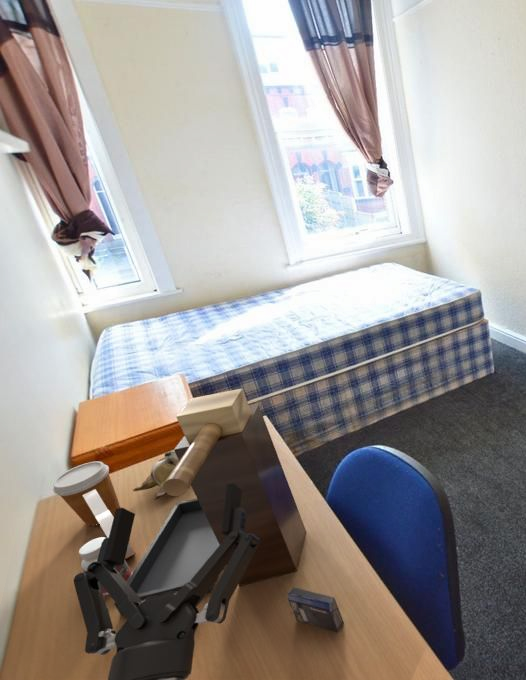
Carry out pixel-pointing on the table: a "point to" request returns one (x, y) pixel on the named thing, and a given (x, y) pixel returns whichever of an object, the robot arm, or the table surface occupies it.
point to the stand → (252, 497)
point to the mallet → (206, 432)
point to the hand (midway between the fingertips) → (181, 498)
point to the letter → (102, 515)
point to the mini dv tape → (315, 609)
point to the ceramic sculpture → (160, 474)
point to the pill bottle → (91, 555)
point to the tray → (175, 552)
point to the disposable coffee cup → (86, 489)
